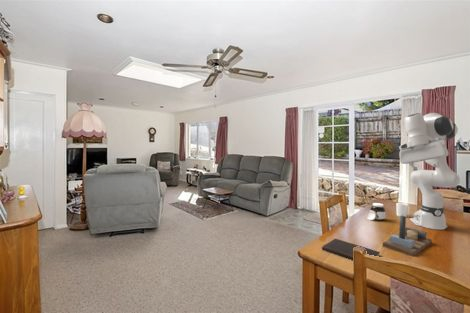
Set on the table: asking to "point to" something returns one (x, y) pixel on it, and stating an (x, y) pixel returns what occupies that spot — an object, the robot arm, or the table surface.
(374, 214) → the spread jar
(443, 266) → the table surface
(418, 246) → the press board
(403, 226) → the jaw carriage
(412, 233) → the nut
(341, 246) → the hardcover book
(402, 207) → the white cup
